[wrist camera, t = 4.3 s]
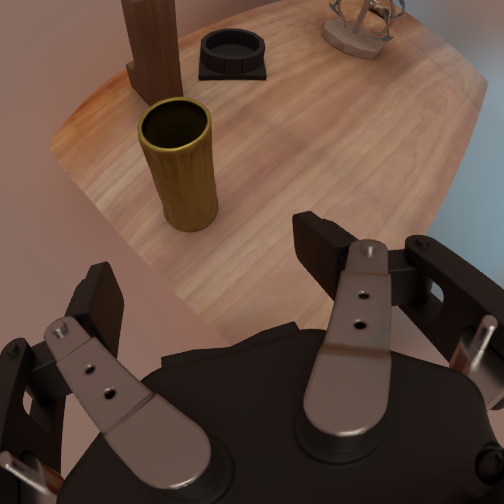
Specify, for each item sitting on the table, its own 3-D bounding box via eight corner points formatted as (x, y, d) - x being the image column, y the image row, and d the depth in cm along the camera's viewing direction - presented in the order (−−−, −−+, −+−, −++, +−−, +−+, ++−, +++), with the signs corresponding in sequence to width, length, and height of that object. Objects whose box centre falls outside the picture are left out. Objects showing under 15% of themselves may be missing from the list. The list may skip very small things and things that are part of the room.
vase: (175, 176, 32) (153, 87, 19) (225, 189, 33) (229, 100, 19) (155, 223, 31) (115, 148, 17) (208, 238, 31) (200, 166, 17)
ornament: (360, 3, 53) (364, -6, 50) (379, 8, 54) (383, -1, 51) (373, 16, 51) (377, 6, 48) (393, 21, 52) (397, 12, 49)
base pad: (198, 80, 37) (198, 60, 33) (201, 46, 40) (201, 28, 36) (265, 80, 38) (269, 60, 35) (259, 46, 41) (262, 28, 37)
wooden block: (130, 84, 36) (106, -12, 19) (155, 71, 37) (141, -25, 20) (156, 114, 35) (134, 2, 18) (184, 99, 36) (175, -12, 19)
